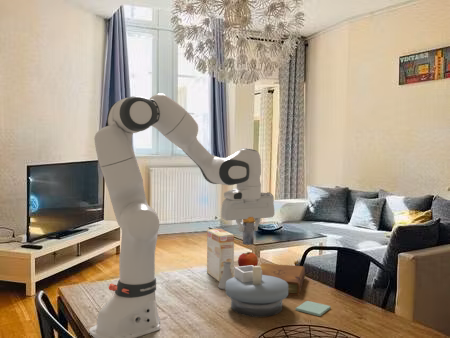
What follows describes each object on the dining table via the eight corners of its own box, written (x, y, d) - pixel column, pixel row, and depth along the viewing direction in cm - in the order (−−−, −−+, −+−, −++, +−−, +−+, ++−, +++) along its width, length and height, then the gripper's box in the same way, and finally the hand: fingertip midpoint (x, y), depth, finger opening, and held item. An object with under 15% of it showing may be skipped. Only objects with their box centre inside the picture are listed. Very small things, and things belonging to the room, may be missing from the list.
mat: (319, 316, 148) (319, 314, 148) (295, 310, 153) (295, 307, 153) (330, 308, 155) (330, 306, 155) (307, 302, 160) (307, 300, 160)
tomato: (260, 271, 199) (261, 254, 199) (241, 273, 197) (241, 255, 196) (253, 266, 208) (254, 249, 208) (235, 267, 206) (235, 250, 205)
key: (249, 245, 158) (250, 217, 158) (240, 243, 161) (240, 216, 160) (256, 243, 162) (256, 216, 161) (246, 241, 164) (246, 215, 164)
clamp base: (265, 321, 144) (265, 306, 143) (220, 308, 154) (221, 294, 154) (291, 305, 158) (291, 291, 158) (249, 294, 169) (249, 281, 168)
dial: (300, 297, 150) (300, 271, 150) (242, 307, 141) (242, 279, 141) (268, 279, 170) (268, 256, 170) (216, 286, 162) (216, 262, 161)
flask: (234, 290, 173) (234, 265, 173) (216, 289, 175) (216, 264, 174) (237, 285, 180) (237, 261, 180) (219, 283, 182) (220, 259, 181)
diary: (299, 297, 168) (299, 282, 168) (251, 292, 173) (251, 278, 173) (304, 279, 190) (304, 266, 190) (261, 275, 195) (261, 262, 195)
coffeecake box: (234, 280, 186) (234, 234, 185) (218, 282, 184) (219, 235, 183) (221, 270, 200) (221, 228, 199) (206, 272, 198) (206, 229, 196)
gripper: (269, 191, 167) (268, 227, 168) (219, 193, 159) (219, 231, 160) (277, 193, 162) (277, 230, 162) (226, 195, 153) (226, 234, 154)
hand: (248, 230), depth 161 cm, fingers closed on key, 4 cm apart
